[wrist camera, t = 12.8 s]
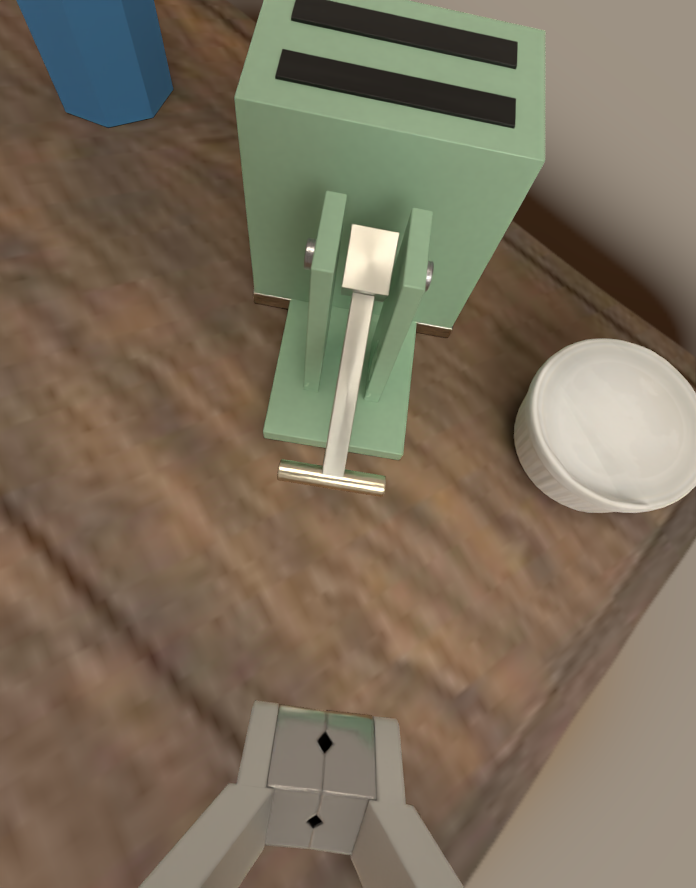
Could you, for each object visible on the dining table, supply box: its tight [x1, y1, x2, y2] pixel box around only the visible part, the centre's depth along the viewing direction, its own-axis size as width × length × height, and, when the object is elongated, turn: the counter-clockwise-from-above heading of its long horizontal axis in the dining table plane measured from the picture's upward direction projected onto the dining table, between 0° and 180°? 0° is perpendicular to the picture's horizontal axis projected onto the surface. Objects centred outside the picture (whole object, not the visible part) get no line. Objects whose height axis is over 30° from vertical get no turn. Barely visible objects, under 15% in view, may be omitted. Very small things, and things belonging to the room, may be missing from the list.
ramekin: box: [514, 338, 696, 513], centre depth 32 cm, size 11×11×5 cm
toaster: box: [234, 0, 545, 338], centre depth 30 cm, size 9×14×15 cm, turn 82°
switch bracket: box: [263, 191, 434, 460], centre depth 28 cm, size 11×9×13 cm
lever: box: [277, 224, 400, 497], centre depth 24 cm, size 12×5×2 cm, turn 172°
